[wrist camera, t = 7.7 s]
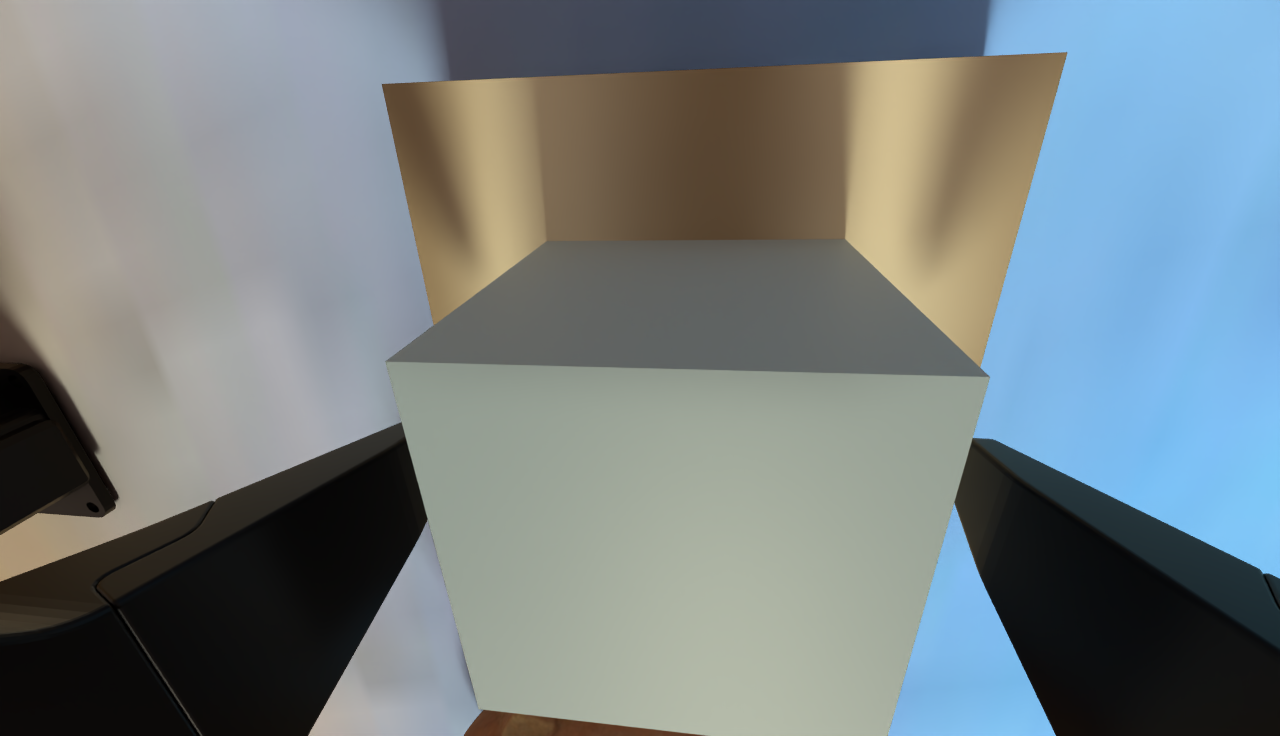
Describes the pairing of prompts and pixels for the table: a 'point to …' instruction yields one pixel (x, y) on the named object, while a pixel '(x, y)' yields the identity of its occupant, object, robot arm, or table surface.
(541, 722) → the ceramic jug
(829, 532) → the gray cube
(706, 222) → the birch board
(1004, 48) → the table surface
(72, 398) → the table surface
